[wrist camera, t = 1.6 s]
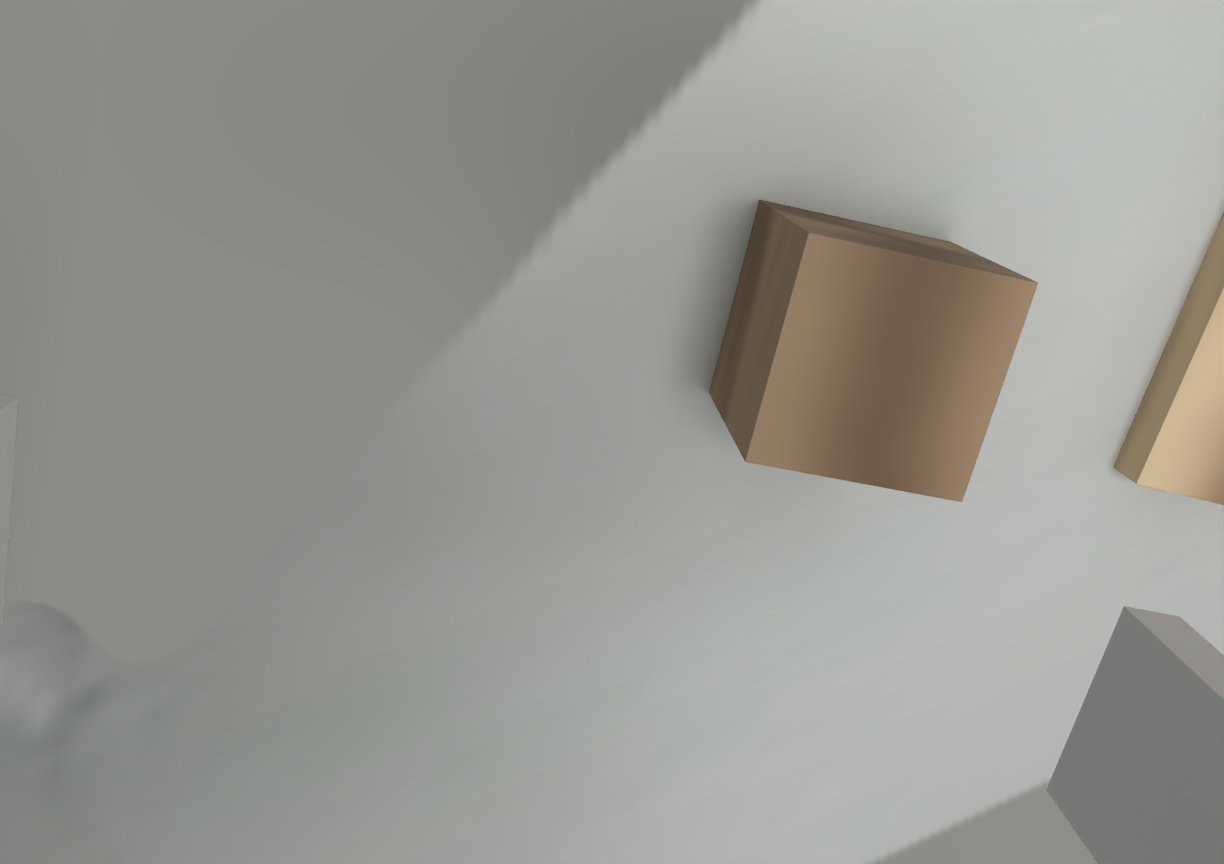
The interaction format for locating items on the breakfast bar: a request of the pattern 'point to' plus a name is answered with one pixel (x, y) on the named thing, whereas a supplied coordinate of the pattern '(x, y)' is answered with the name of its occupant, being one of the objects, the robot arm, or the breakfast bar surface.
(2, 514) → the robot arm
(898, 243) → the walnut block
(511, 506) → the breakfast bar surface
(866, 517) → the breakfast bar surface
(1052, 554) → the breakfast bar surface
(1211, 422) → the oak board
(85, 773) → the breakfast bar surface
